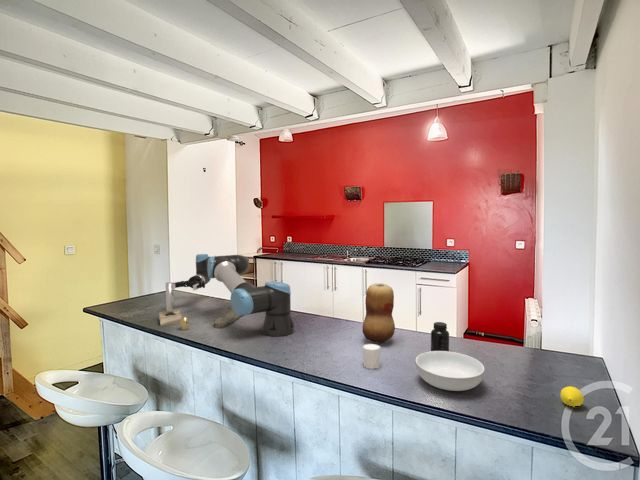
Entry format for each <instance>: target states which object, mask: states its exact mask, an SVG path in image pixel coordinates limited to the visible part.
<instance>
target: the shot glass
mask: <svg viewBox="0 0 640 480" xmlns="http://www.w3.org/2000/svg"><path fill="white" fill-rule="evenodd" d="M381 350H382V346H380V345H379V344H376V343H364V344H363V345H362V346H361V351H362V353H361V354H362V361H363V364H362V365H363V367H364V368H365V367H366V369H368V368H369V370H375V369H374V368H376V369H379V367H380V363H381V361H380V360H381V353H382V351H381Z"/></svg>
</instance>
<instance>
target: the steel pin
mask: <svg viewBox="0 0 640 480" xmlns="http://www.w3.org/2000/svg"><path fill="white" fill-rule="evenodd" d="M173 283H174V282H171V281H170V282H165V305H166V306H165V308H166V309H165V310H166V311H165V312H166V315H167V316H171V315H174V311H175V309H174V289H173Z"/></svg>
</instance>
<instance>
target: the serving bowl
mask: <svg viewBox="0 0 640 480" xmlns="http://www.w3.org/2000/svg"><path fill="white" fill-rule="evenodd" d="M414 362H415V368H416V370H417V373H418V374H419V377H421V378H422V380H423V381H425V382H426V383H427V384H429V385H431V386H432V387H435V388H437V389H442V390H446V391H451V392H452V391H453V392H463V391H468V390H471V389H473V388H475V387H477V386H478V385H480V383H481V382H482V380H483V378H484V375H485V371H486V370H485V366H484V364H483V363H482V362H481V361H479V360H478V359H477V358H475V357H472V356H470V355H466V354H465V353H459V352H455V351H450V350H449V351H431V350H430V351H425V352H422V353H420V354H418V355H417V356H416V358H415V361H414Z"/></svg>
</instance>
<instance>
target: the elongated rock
mask: <svg viewBox="0 0 640 480" xmlns="http://www.w3.org/2000/svg"><path fill="white" fill-rule="evenodd" d="M243 316H244V315H238V314H236V313H235V312H234V310H233V308H232V306H231V304H230V305H229V306H227V310H226V311H225V313H224V314H221V316H219V317H218V318H216V319H215V320H213V323H212V326H213V327H214V328H216V329H222V328H225V327H227V326H228V325H231V324H233V323H234V322H235V321H237V320H239V319H240V318H241V317H243Z"/></svg>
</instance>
